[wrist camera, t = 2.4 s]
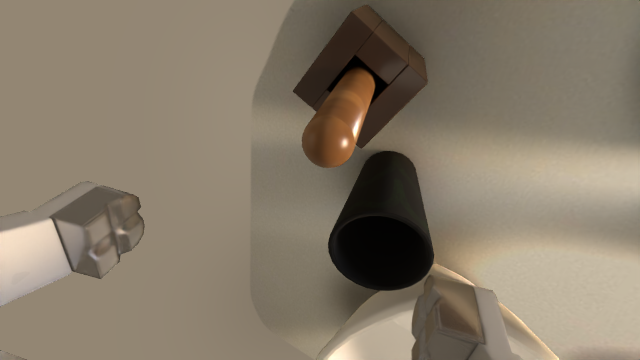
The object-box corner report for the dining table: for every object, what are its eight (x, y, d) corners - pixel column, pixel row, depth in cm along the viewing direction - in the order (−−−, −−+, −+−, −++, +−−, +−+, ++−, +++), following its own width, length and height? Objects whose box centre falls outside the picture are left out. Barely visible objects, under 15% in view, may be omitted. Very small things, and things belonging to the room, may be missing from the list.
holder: (318, 67, 31) (292, 91, 24) (366, 3, 27) (351, 11, 20) (371, 114, 32) (361, 149, 25) (424, 58, 28) (428, 82, 21)
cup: (338, 158, 35) (309, 230, 25) (408, 128, 32) (405, 197, 21) (372, 214, 37) (357, 299, 27) (439, 192, 34) (450, 280, 24)
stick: (350, 64, 30) (284, 153, 14) (368, 42, 29) (317, 114, 13) (370, 82, 30) (326, 187, 15) (389, 61, 29) (362, 152, 14)
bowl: (313, 291, 46) (286, 373, 36) (429, 192, 34) (437, 276, 25) (433, 372, 49) (438, 469, 39) (579, 308, 37) (638, 423, 28)
